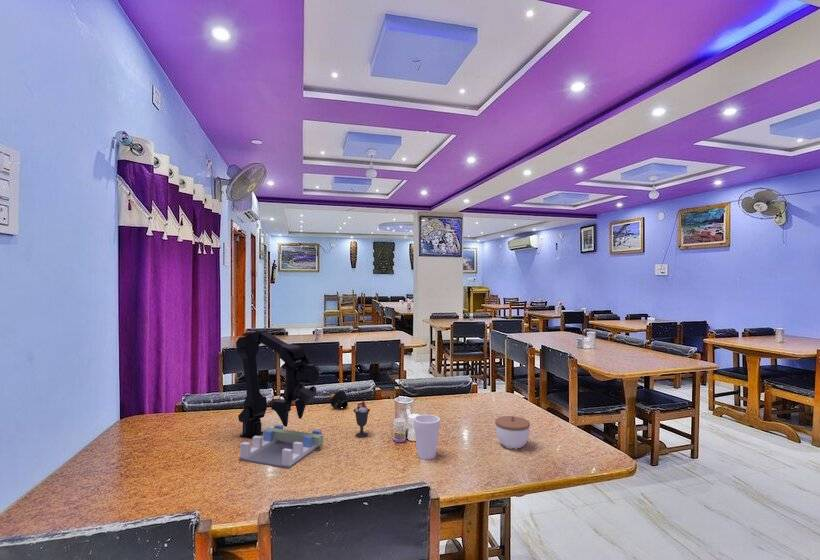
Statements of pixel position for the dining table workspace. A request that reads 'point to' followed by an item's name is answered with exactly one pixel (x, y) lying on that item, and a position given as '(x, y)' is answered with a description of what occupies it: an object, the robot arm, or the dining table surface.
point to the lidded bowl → (512, 431)
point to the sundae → (361, 418)
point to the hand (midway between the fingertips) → (293, 422)
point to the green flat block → (294, 436)
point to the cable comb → (277, 450)
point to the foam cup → (426, 435)
